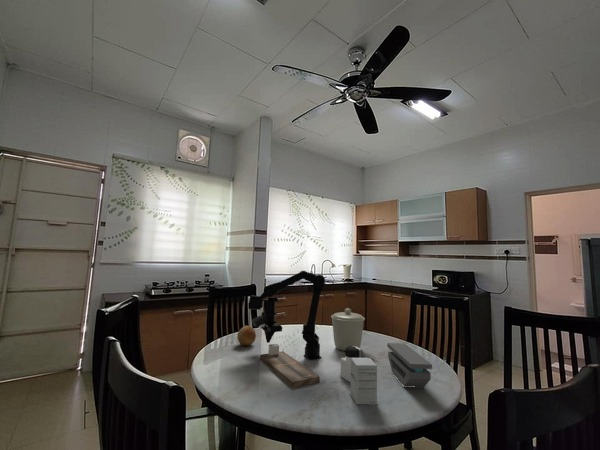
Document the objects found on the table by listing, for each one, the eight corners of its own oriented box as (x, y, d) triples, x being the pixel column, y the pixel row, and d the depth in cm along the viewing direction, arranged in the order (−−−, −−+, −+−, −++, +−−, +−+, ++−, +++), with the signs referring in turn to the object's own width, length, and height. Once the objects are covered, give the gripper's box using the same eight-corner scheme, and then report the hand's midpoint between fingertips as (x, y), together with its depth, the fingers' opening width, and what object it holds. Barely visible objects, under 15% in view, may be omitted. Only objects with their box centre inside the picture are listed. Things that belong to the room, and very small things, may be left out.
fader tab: (276, 352, 135) (276, 343, 135) (278, 354, 132) (279, 345, 133) (268, 353, 133) (268, 344, 133) (270, 355, 130) (271, 346, 131)
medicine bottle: (350, 383, 109) (351, 351, 110) (340, 376, 115) (340, 345, 117) (365, 380, 112) (365, 348, 114) (354, 373, 119) (354, 343, 120)
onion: (233, 347, 147) (234, 327, 148) (242, 341, 157) (243, 323, 158) (250, 349, 144) (251, 329, 146) (258, 343, 154) (259, 325, 155)
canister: (369, 347, 153) (369, 308, 156) (357, 357, 138) (357, 313, 140) (338, 341, 163) (339, 304, 165) (324, 349, 148) (325, 308, 150)
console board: (282, 355, 137) (283, 350, 137) (319, 381, 109) (319, 375, 110) (259, 359, 131) (260, 354, 131) (292, 387, 104) (292, 381, 104)
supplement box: (349, 394, 100) (350, 357, 102) (370, 394, 101) (370, 357, 102) (355, 405, 93) (356, 365, 94) (377, 404, 93) (377, 365, 95)
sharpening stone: (387, 368, 125) (387, 342, 126) (404, 368, 125) (404, 343, 127) (410, 396, 100) (410, 364, 102) (432, 396, 101) (431, 364, 102)
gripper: (247, 308, 145) (246, 339, 143) (261, 315, 129) (259, 350, 127) (267, 306, 150) (266, 337, 149) (283, 313, 134) (282, 347, 132)
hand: (268, 342), depth 139 cm, fingers closed
